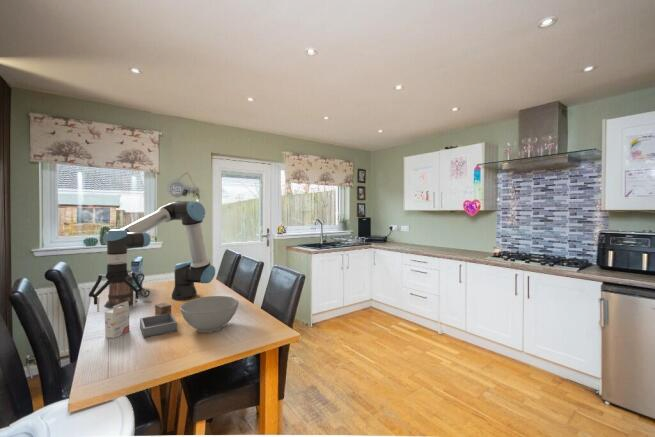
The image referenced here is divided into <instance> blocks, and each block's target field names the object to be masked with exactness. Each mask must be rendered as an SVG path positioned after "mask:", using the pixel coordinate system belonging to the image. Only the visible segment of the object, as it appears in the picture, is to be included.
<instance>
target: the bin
mask: <svg viewBox="0 0 655 437" xmlns="http://www.w3.org/2000/svg"><path fill="white" fill-rule="evenodd" d="M139 328H140V332H141V334H142V337H143V339H147V338H148V339H149V338H152V337H157V336H162V335H166V334H167V335H168V334H171V332H172V333H175V331H176V332H177V331H178V321H177V320H176V318H175V316H173V314H172V312H171V313H166V314H161V315H155V314H154V315H151V316H146V317H140V318H139Z"/></svg>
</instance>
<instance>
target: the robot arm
mask: <svg viewBox="0 0 655 437" xmlns="http://www.w3.org/2000/svg"><path fill="white" fill-rule="evenodd" d="M156 209H157V208H156ZM205 217H206V209H205V206H204V205H203V204H202V203H201V202H199V201H194V200H192V201H191V200H188V201H187V200H183V201H181V200H177V201H173V202H169V203H168V204H165V205H163V206H160V207H159V208H158V209H157V210H156V211H154V212H152V213H151V214H148V215H146V216H144V217H142V218H139V219H138V220H136V221H134V222H132V223H130V224H128V225H126V226H123V227H122V228H119V229H109V230H108V231H107V232H105V233H104V234H103V236H102V241H103V244H104V245H106V247H107V248H106V251H107V253H106V263H107V264H106V274H101V273H99V274H98V275H97V280H96V281H95V284H94V285H93V287H92V288H91V290H90V292H89V293H88V297H89V298H90V297H91V298H93V305H94V306H95V305H96V307H97V308H96V313H99V312H100V294H102V292H104V291H105V289H107V287H109V284H110V283H113V284H115V283H121V282H124V283H126V284H127V285H128V286H129V287H130V288H132V289H133V290H134V291H135V292H133V305H132V306H133V308H134V307H136V304H135V301H136V300H138V299H139V295H138V292H139V291H141V292H142V291H143V290H144V289H143V287H141V285H140V283H139V282H138V280H137V278H136V277H135V272H134V271H133V272H130V273H127V270H128V263H127V262H128V250H129V249H137V248H138V249H139V248H145V247H148V246H149V245H150V244H151V240H152V239H151V235H150V234H149V233H148V231H150V230H152V229H155V228H156V227H158V226H160V225H161V224H164V223H165V224H166V223H169V222H172V221H181V224H182V226H184V227H185V230H186V236H187V241H188V245H189V246H188V247H189V250H190V256H191V261H183V262H179V263H176V264H175V265H174V287H173V289H172V293H171V299H172V300H175V301H185V300H192V299H195V298H196V297H197V296H198V291H197V289H196V286H195V283H197V284H209V283H211V282H212V281H213V280H214V278H215V276H216V267H215V266H214V265H211V261H210V259H208V258H207V252H206V247H205V242H204V236H203V230H202V223H203V222H204V221H203V220H204V219H205ZM128 275H129V276H130V277H132V278H133V280H134V281H135V283H136V284H137V286H138V289H137V288H136V287H135V286H133V285H132V284H131V283H130V282H129V281H128V280H127V279H126V277H127V276H128ZM104 279H106V282H105V283H103V285H102V286H101V287H99V286H100V283H101V281H103V280H104ZM98 287H99V289H98V290H97V288H98ZM96 290H97V291H96Z"/></svg>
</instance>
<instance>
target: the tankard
mask: <svg viewBox="0 0 655 437" xmlns="http://www.w3.org/2000/svg"><path fill="white" fill-rule="evenodd" d="M130 272H131V269H127V273H130ZM139 275H142V276H143V279H142V280H141V282H140V285H141V284H142V282H143V281H144V280H145V274H144V273H143V274H142V273H139V274H137V275H136V278H137V280H138V281H139V279H138V276H139ZM126 279H127V280H128V281H129V282H130V283H131V284H132V285H133V278H132V277H130V276H129V275H128V276H127V277H126ZM133 292H134V291H133V289H132V288H130V287H129V286H128V285H127V284H126V283H124V282H121V283H115V284H113V283H110V284H109V285H108V295H107V298H108V299H107V301H106V302H105V304H104V305H103V307H104V308H106V309H113V306H115V305H118V304H120V303H123V302H126V301H128V303H129V307H130V306H133ZM143 292H144V294H143V293H142V291H139V295H140V297H142V298H148V297H149V296H150V294H151V291H150V289H146V290H144V291H143ZM137 303H138V299H136V301H135V305H136V304H137ZM120 306H124V305H120ZM120 306H119V307H120Z"/></svg>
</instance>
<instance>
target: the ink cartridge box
mask: <svg viewBox="0 0 655 437" xmlns="http://www.w3.org/2000/svg"><path fill="white" fill-rule="evenodd" d="M120 305H124V306H120ZM119 306H120V307H119ZM128 332H130V306H129V303H128V301H126V302H123V303H120V304H118V305H115V306H113V308H111V309H109V310H107V311H105V312H104V333H105V334H104V336H105V338H108V339H116V338H117V337H120V336H122V335H124V334H126V333H128Z"/></svg>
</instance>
